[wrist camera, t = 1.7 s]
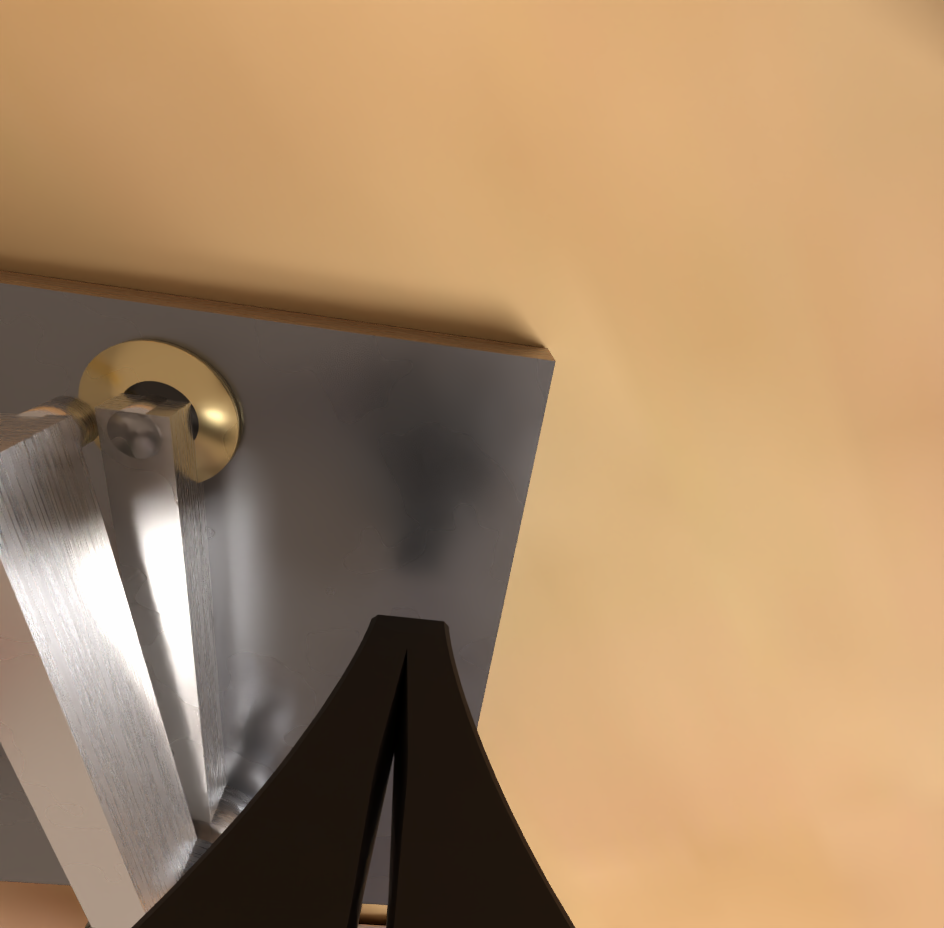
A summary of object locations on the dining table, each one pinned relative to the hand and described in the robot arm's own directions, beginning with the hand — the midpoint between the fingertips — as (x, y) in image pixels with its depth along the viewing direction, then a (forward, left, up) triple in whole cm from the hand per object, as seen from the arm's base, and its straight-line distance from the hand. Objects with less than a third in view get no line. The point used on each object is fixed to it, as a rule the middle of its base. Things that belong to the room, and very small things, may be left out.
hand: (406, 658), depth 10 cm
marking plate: (-4, +7, -3) cm, 8 cm away
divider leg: (-3, +6, -1) cm, 6 cm away
